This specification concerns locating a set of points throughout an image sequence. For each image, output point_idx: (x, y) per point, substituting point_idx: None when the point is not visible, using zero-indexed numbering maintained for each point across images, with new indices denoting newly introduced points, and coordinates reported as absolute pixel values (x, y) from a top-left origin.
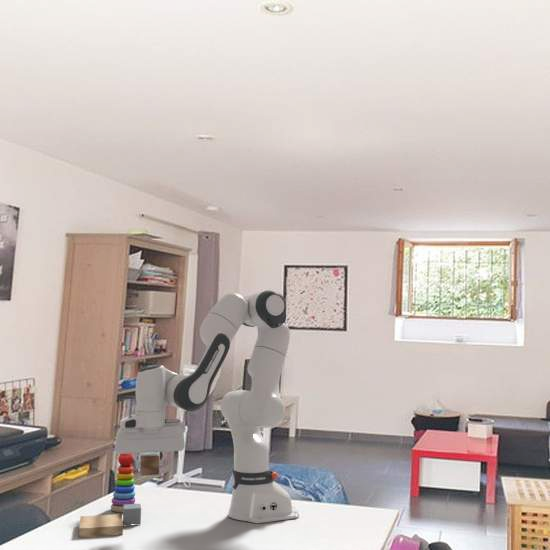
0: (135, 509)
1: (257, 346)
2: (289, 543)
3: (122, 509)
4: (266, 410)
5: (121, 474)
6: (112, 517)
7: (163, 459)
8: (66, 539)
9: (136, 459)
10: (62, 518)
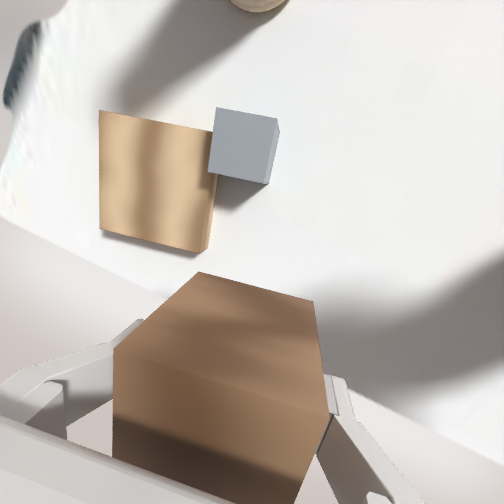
0: (245, 179)
1: None
2: None
3: (245, 7)
4: None
5: None
6: (184, 162)
7: (337, 483)
8: (92, 225)
9: (85, 412)
10: (68, 14)
